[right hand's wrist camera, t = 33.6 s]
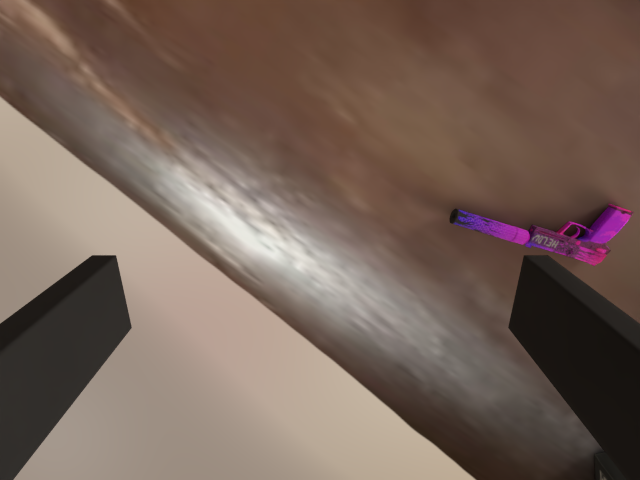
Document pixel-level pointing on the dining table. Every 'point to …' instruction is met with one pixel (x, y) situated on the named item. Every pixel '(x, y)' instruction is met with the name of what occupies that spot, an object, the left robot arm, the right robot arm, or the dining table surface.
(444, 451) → the dining table surface
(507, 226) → the handgun
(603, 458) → the router box
